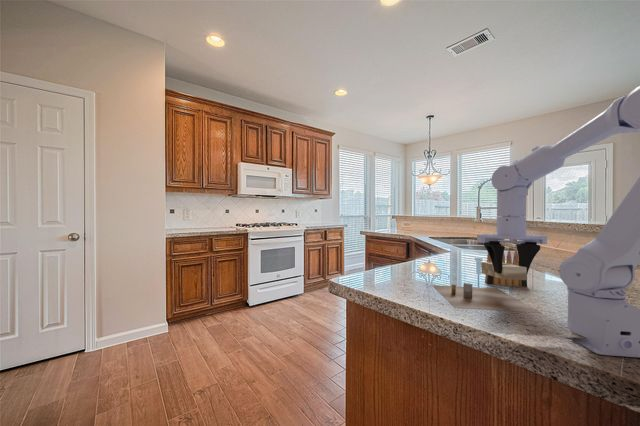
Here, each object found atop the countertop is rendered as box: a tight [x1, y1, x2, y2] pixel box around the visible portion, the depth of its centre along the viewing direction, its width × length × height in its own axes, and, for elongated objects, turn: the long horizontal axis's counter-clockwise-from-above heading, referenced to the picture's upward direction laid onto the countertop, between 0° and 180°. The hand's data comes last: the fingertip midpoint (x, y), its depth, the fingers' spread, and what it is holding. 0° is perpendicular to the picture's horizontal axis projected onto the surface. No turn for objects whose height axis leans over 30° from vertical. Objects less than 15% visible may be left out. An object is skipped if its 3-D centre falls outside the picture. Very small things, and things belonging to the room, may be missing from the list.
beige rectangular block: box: [480, 261, 528, 281], centre depth 66 cm, size 11×5×3 cm, turn 172°
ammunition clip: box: [484, 250, 528, 288], centre depth 79 cm, size 11×2×12 cm, turn 76°
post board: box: [432, 282, 542, 314], centre depth 67 cm, size 18×18×5 cm
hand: (510, 273), depth 62 cm, fingers closed on beige rectangular block, 5 cm apart
